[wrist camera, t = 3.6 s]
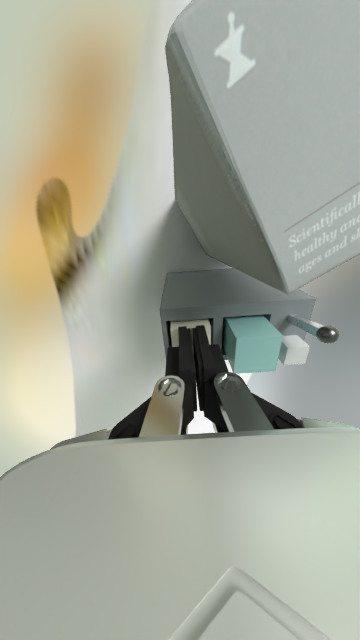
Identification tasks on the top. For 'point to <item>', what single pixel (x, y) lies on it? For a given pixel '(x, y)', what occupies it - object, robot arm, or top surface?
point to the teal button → (251, 343)
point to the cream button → (190, 324)
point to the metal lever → (315, 328)
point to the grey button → (293, 350)
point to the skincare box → (268, 133)
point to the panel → (228, 302)
